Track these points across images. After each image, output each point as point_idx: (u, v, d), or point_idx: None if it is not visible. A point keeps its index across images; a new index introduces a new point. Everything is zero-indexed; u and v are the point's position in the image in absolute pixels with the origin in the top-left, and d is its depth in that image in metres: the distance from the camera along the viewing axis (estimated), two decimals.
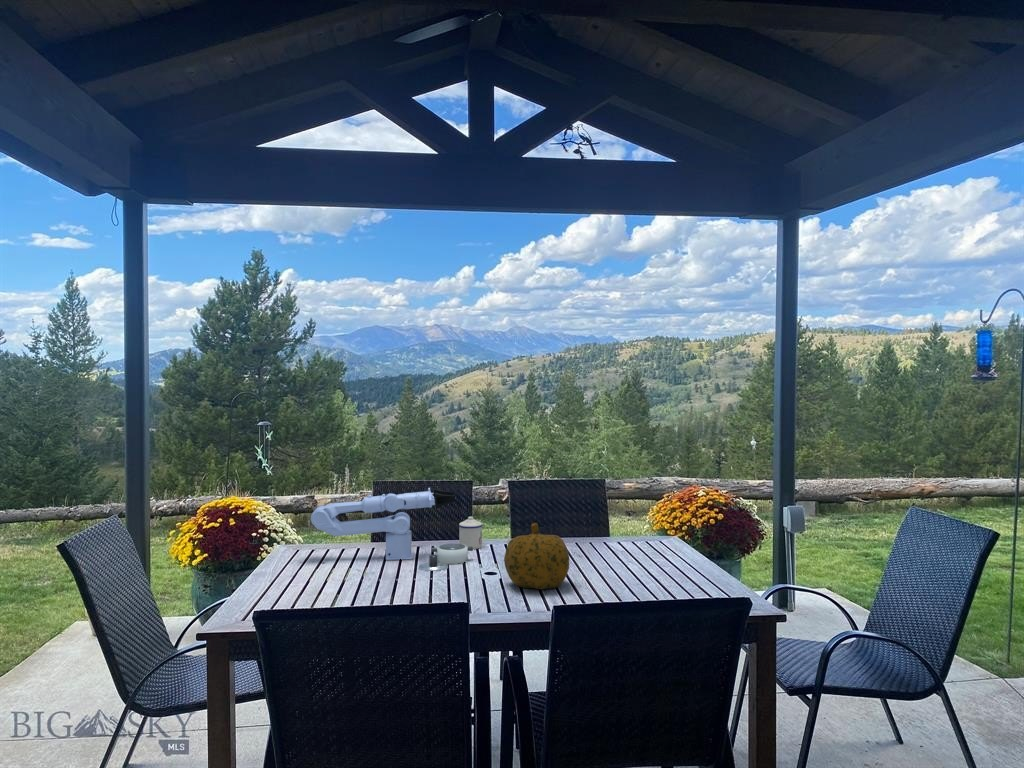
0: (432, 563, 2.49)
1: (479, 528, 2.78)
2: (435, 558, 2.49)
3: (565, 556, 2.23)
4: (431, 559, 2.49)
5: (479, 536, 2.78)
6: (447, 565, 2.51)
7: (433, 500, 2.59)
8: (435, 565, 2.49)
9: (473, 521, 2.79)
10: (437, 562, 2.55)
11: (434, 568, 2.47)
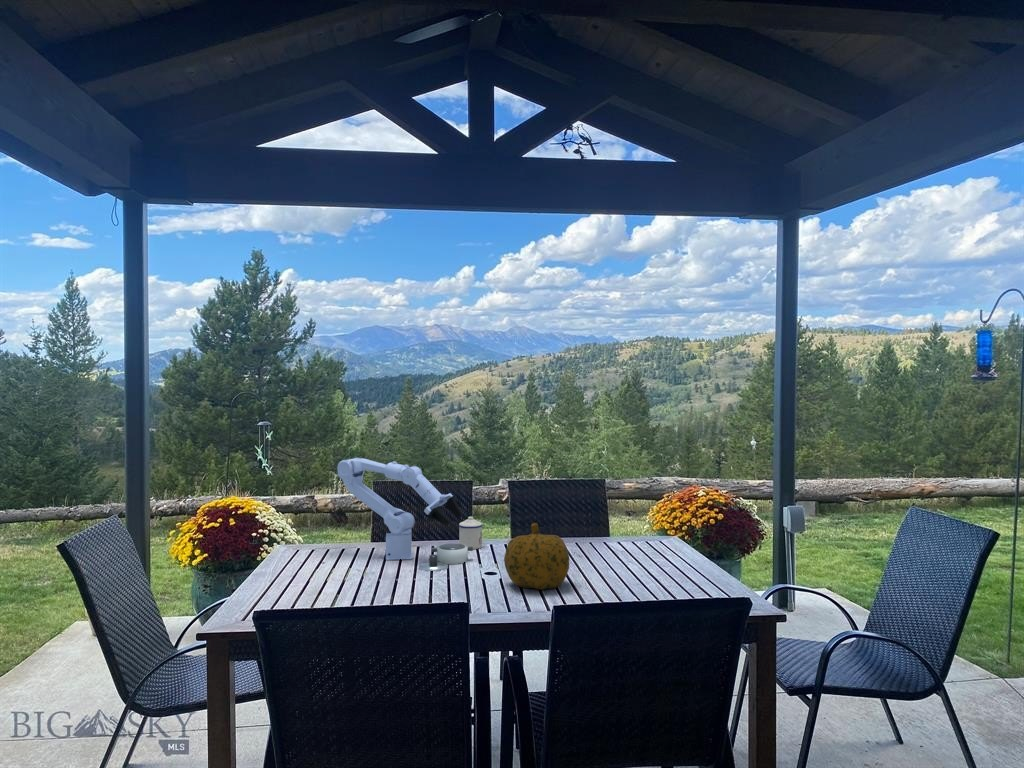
0: (432, 563, 2.49)
1: (479, 528, 2.78)
2: (435, 558, 2.49)
3: (565, 556, 2.23)
4: (431, 559, 2.49)
5: (479, 536, 2.78)
6: (447, 565, 2.51)
7: (428, 511, 2.53)
8: (435, 565, 2.49)
9: (473, 521, 2.79)
10: (437, 562, 2.55)
11: (434, 568, 2.47)
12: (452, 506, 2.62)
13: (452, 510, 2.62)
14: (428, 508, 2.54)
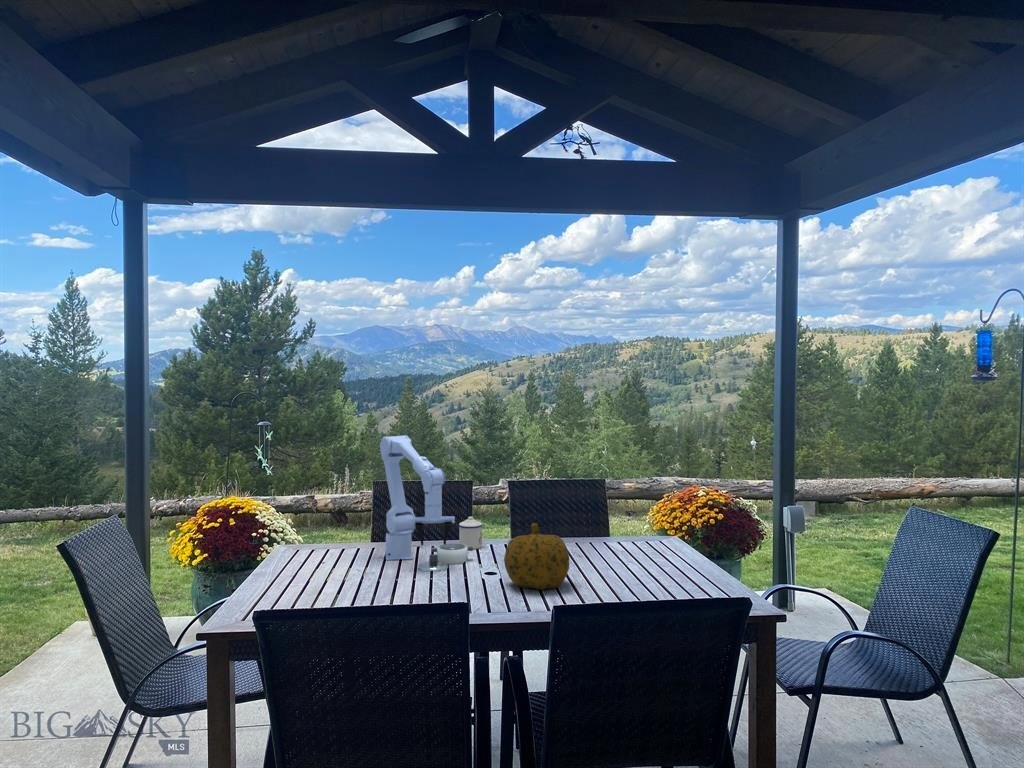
0: (432, 563, 2.49)
1: (479, 528, 2.78)
2: (435, 558, 2.49)
3: (565, 556, 2.23)
4: (431, 559, 2.49)
5: (479, 536, 2.78)
6: (447, 565, 2.51)
7: (412, 522, 2.49)
8: (435, 565, 2.49)
9: (473, 521, 2.79)
10: (437, 562, 2.55)
11: (434, 568, 2.47)
12: None
13: None
14: (413, 520, 2.48)
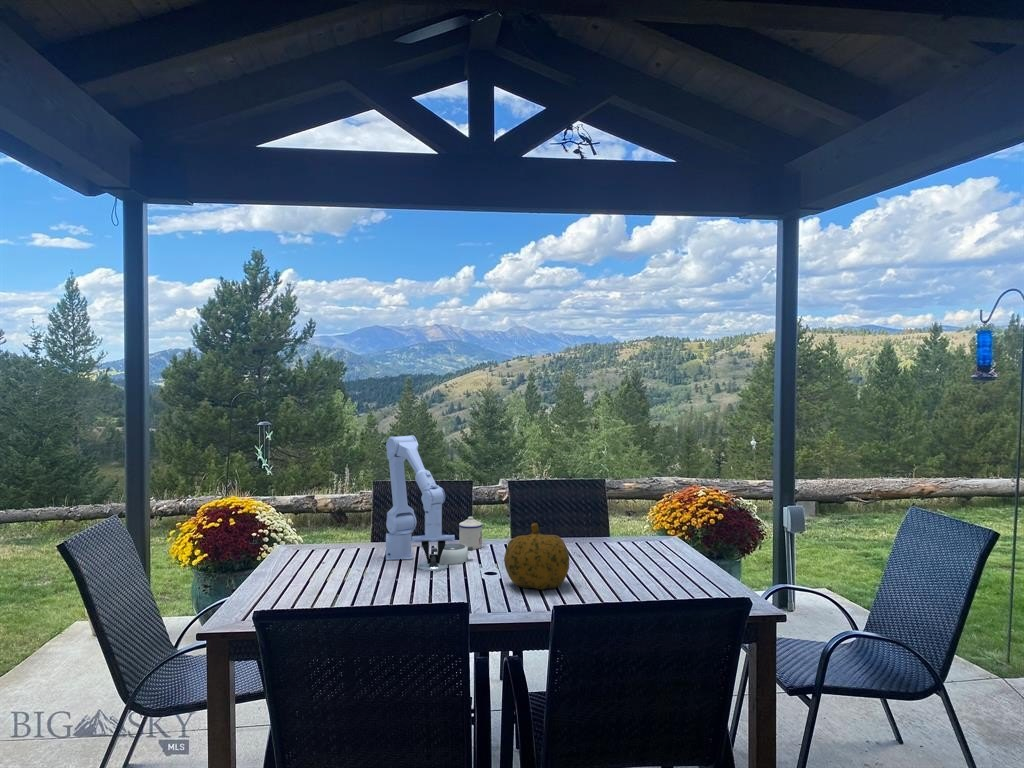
0: (432, 562, 2.49)
1: (479, 528, 2.78)
2: (435, 557, 2.49)
3: (565, 556, 2.23)
4: (431, 558, 2.49)
5: (479, 536, 2.78)
6: (447, 564, 2.51)
7: (412, 541, 2.49)
8: (435, 564, 2.49)
9: (473, 521, 2.79)
10: None
11: (433, 567, 2.47)
12: None
13: None
14: (413, 539, 2.48)
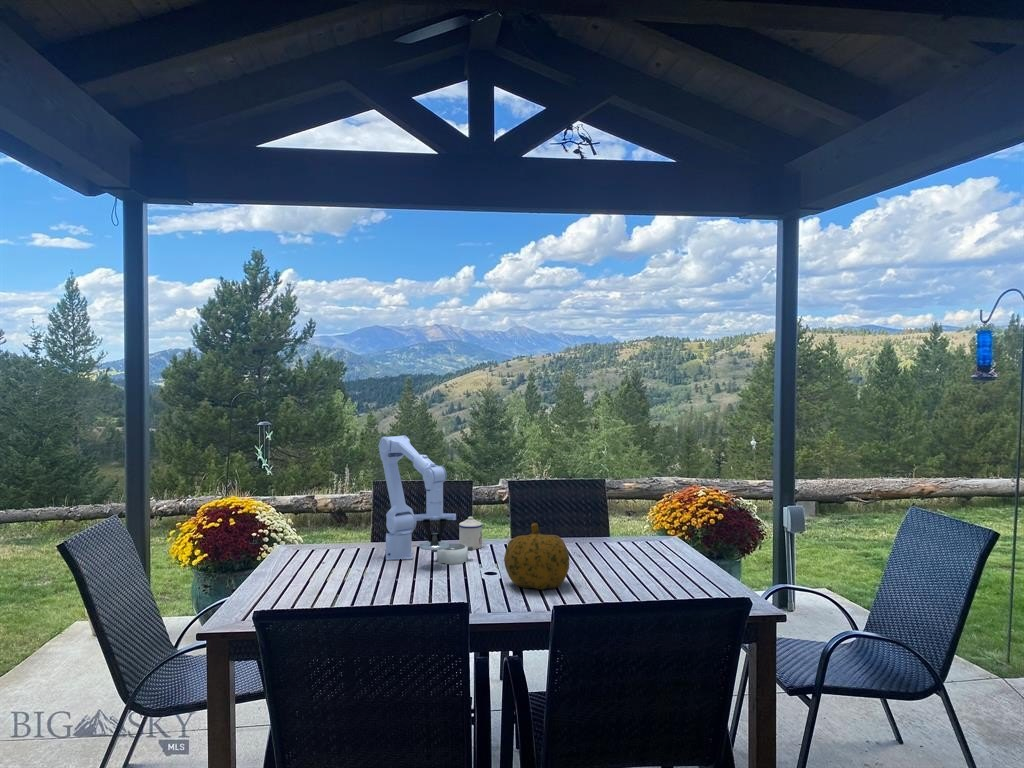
0: (433, 541, 2.50)
1: (479, 528, 2.78)
2: (436, 536, 2.50)
3: (565, 556, 2.23)
4: (432, 537, 2.50)
5: (479, 536, 2.78)
6: (448, 544, 2.51)
7: (413, 519, 2.49)
8: (436, 543, 2.50)
9: (473, 521, 2.79)
10: None
11: (434, 546, 2.48)
12: None
13: None
14: (414, 517, 2.49)
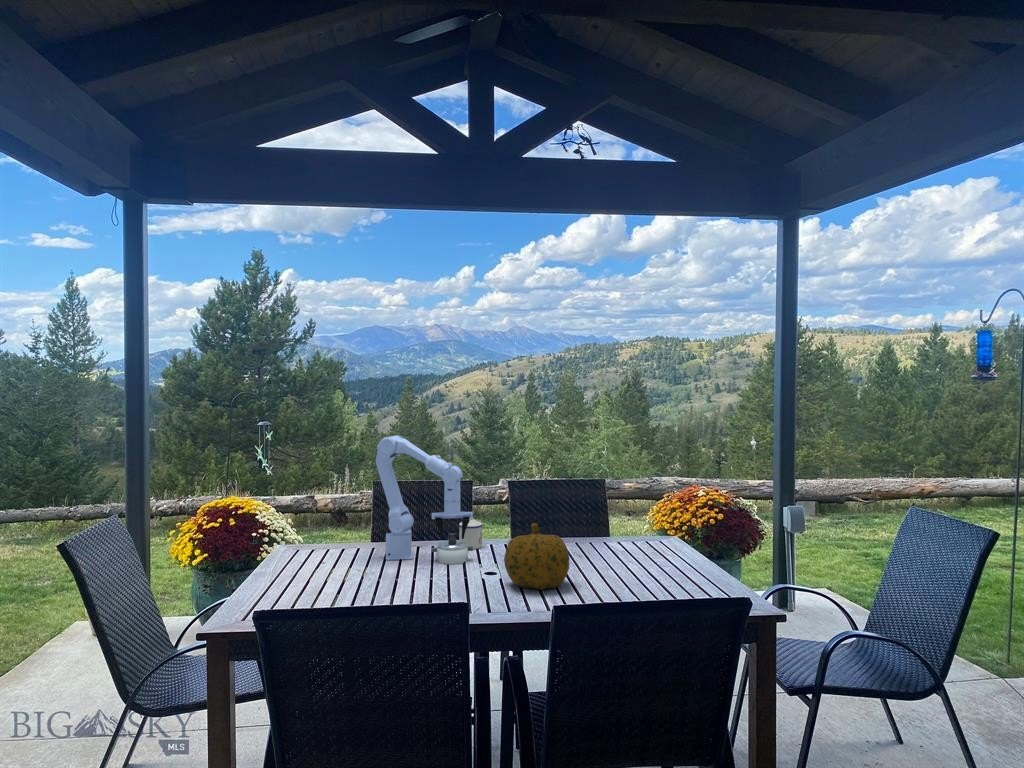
0: (451, 541, 2.59)
1: (479, 528, 2.78)
2: (454, 536, 2.59)
3: (565, 556, 2.23)
4: (450, 537, 2.59)
5: (479, 536, 2.78)
6: (465, 544, 2.60)
7: None
8: (454, 543, 2.59)
9: (473, 521, 2.79)
10: (457, 541, 2.64)
11: (452, 546, 2.56)
12: (462, 525, 2.60)
13: None
14: (433, 515, 2.58)
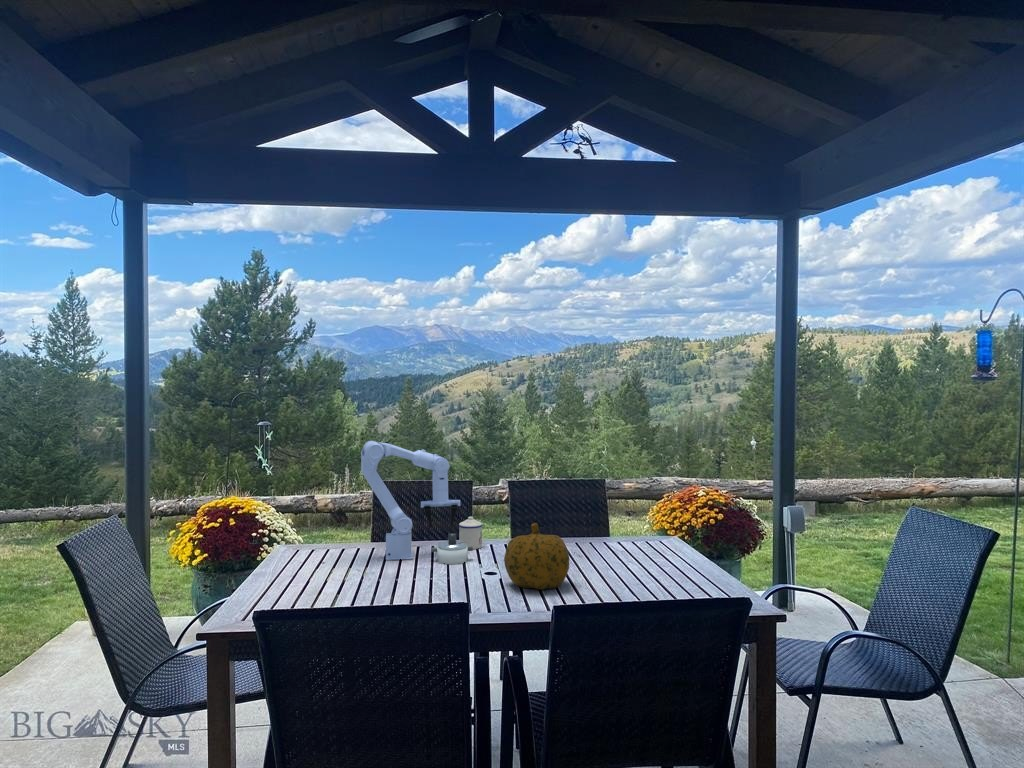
0: (451, 541, 2.59)
1: (479, 528, 2.78)
2: (453, 536, 2.59)
3: (565, 556, 2.23)
4: (450, 537, 2.59)
5: (479, 536, 2.78)
6: (465, 544, 2.60)
7: (421, 506, 2.68)
8: (453, 543, 2.59)
9: (473, 521, 2.79)
10: (457, 541, 2.64)
11: (452, 546, 2.56)
12: None
13: None
14: (422, 504, 2.68)
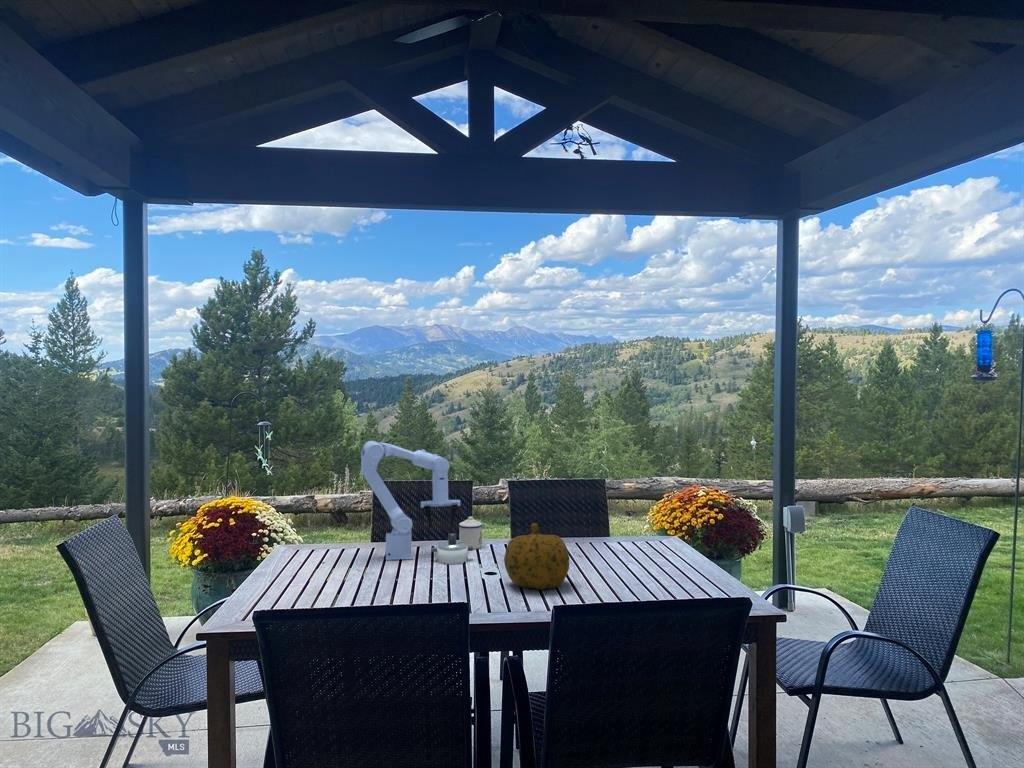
0: (451, 541, 2.59)
1: (479, 528, 2.78)
2: (453, 536, 2.59)
3: (565, 556, 2.23)
4: (450, 537, 2.59)
5: (479, 536, 2.78)
6: (465, 544, 2.60)
7: None
8: (453, 543, 2.59)
9: (473, 521, 2.79)
10: (457, 541, 2.64)
11: (452, 546, 2.56)
12: None
13: None
14: (422, 504, 2.68)
